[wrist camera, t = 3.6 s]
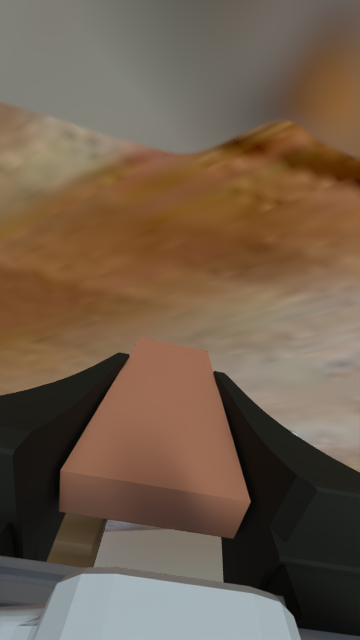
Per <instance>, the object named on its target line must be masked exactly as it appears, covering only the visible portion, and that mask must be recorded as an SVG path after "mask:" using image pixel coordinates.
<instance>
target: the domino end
mask: <svg viewBox="0 0 360 640" xmlns="http://www.w3.org/2000/svg"><path fill="white" fill-rule="evenodd" d="M106 523H107V519H104V518H103V520H102V523H101V526H100V529H99V533H98V536H97V539H96V542H95V545H94V548H93V551H92V555H91V556H89V555H82V554H75V553H68V552H61V551H54V550H51V552H50V554H49V557H48V559H47V562H48V563H55V564H62V565H69V566H76V567H83V568H87V567H93V566H94V563H95V560H96V556H97V553H98V549H99V546H100V543H101V539H102V536H103V533H104V529H105V526H106Z"/></svg>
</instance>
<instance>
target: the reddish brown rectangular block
mask: <svg viewBox="0 0 360 640" xmlns="http://www.w3.org/2000/svg"><path fill="white" fill-rule="evenodd" d="M213 373H214V372H213V369H212V365H211V362H210V359H209V355H208V352H207V351H204V350H199V349H194V348H189V347H184V346H179V345H174V344H169V343H164V342H159V341H154V340H149V339H144V338H140V339H139V341H138V342H137V344H136V346H135V347H134V349H133V351H132V352H131V354H130V356H129V358H128V360H127V362H126V364H125V365H124V367H123V368H122V369H121V371H120V372H119V374H118V376H117V377H116V379H115V381H114V382H113V384H112V386H111V387H110V389H109V391H108V392H107V394H106V396H105V397H104V399H103V401H102V402H101V404H100V406H99V407H98V409H97V411H96V412H95V414H94V416H93V417H92V419H91V421H90V422H89V424H88V426H87V427H86V429H85V431H84V432H83V434H82V436H81V437H80V439H79V441H78V442H77V444H76V445H75V447H74V449H73V450H72V452H71V454H70V455H69V457H68V459H67V460H66V462H65V464H64V465H63V467H62V469H61V470H60V499H59V512H65V513H71V514H78V515H84V516H91V517H97V518H104V519H110V520H116V521H123V522H129V523H136V524H142V525H148V526H155V527H161V528H168V529H174V530H181V531H187V532H194V533H200V534H206V535H213V536H219V537H225V538H232V539H234V537H235V534H236V532H237V530H238V528H239V526H240V524H241V522H242V519H243V517H244V515H245V513H246V511H247V509H248V507H249V505H250V502H251V501H250V498H249V494H248V491H247V487H246V484H245V480H244V477H243V473H242V470H241V466H240V463H239V459H238V456H237V452H236V449H235V445H234V442H233V439H232V435H231V432H230V428H229V425H228V421H227V418H226V414H225V411H224V407H223V404H222V400H221V397H220V393H219V390H218V387H217V385H216V382H215V378H214V375H213Z"/></svg>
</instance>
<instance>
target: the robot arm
mask: <svg viewBox="0 0 360 640" xmlns="http://www.w3.org/2000/svg"><path fill="white" fill-rule="evenodd" d="M129 355H130V354H124V353H117V354H115V355H113V356H111V357H110V358H108V359H106V360H104V361H102V362H100V363H98V364H96V365H95V366H92V367H90V368H88V369H86V370H84V371H82V372H79V373H77V374H75V375H72V376H70V377H67V378H64V379H61V380H59V381H56V382H53V383H49V384H46V385H42V386H39V387H35V388H32V389H28V390H24V391H20V392H16V393H11V394H6V395H1V396H0V640H360V473H359V472H358V471H356V470H354V469H352V468H350V467H348V466H346V465H344V464H343V463H341V462H339V461H337V460H335V459H333V458H332V457H330V456H328V455H326V454H325V453H323V452H321V451H320V450H318V449H316V448H315V447H313V446H312V445H310V444H308V443H307V442H305V441H304V440H302V439H301V438H299V437H298V435H297V434H296V433H295V432H290V431H289V430H288V429H286V428H285V427H283V426H282V425H281V424H279V423H278V422H277V421H276V420H274V419H273V418H272V417H270V416H269V415H268V414H267V413H266V412H264V411H263V410H262V409H261V408H260V407H259V406H258V405H256V404H255V403H254V402H253V401H252V400H251V399H250V398H249V397H248V396H247V395H246V394H245V393H244V392H243V391H242V390H241V389H240V388H239V387H238V386H237V385H236V384H235V383H234V382H233V381H232V380H231V379H230V378H229V377H228V376H227V375H226V374H225V373H222V372H217V371H214V373H213V375H214V378H215V382H216V385H217V387H218V390H219V393H220V397H221V400H222V404H223V407H224V411H225V414H226V418H227V421H228V425H229V428H230V432H231V435H232V439H233V442H234V445H235V449H236V452H237V456H238V459H239V463H240V466H241V470H242V473H243V477H244V480H245V484H246V487H247V491H248V494H249V498H250V501H251V502H250V505H249V507H248V509H247V511H246V513H245V515H244V517H243V519H242V522H241V524H240V526H239V528H238V530H237V532H236V534H235V537H234V539H232V538H225V537H221V539H222V557H223V579H224V583H222V582H215V581H208V580H201V579H195V578H188V577H181V576H174V575H167V574H161V573H154V572H146V571H140V570H133V569H126V568H119V567H87V568H83V567H76V566H69V565H62V564H55V563H48V562H47V559H48V557H49V554H50V552H51V549H52V546H53V544H54V541H55V539H56V536H57V534H58V531H59V529H60V526H61V524H62V521H63V519H64V516H65V514H66V513H65V512H59V499H60V470H61V469H62V467H63V465H64V464H65V462H66V460H67V459H68V457H69V455H70V454H71V452H72V450H73V449H74V447H75V445H76V444H77V442H78V441H79V439H80V437H81V436H82V434H83V432H84V431H85V429H86V427H87V426H88V424H89V422H90V421H91V419H92V417H93V416H94V414H95V412H96V411H97V409H98V407H99V406H100V404H101V402H102V401H103V399H104V397H105V396H106V394H107V392H108V391H109V389H110V387H111V386H112V384H113V382H114V381H115V379H116V377H117V376H118V374H119V372H120V371H121V369H122V368H123V367H124V365H125V364H126V362H127V360H128V358H129Z"/></svg>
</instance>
